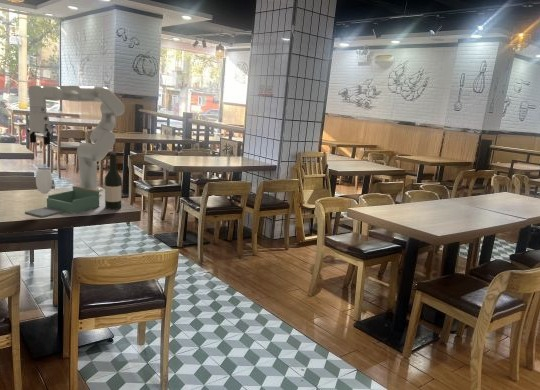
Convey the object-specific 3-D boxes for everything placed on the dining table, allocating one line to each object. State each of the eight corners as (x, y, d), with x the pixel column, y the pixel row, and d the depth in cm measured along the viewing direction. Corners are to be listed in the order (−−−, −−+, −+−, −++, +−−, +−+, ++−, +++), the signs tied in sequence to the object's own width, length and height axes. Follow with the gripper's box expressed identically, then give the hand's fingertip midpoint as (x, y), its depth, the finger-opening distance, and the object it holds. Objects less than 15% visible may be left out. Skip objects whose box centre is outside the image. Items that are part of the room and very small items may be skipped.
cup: (38, 213, 214) (36, 172, 209) (36, 210, 219) (34, 169, 215) (54, 212, 218) (53, 171, 213) (52, 209, 224) (50, 169, 219)
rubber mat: (45, 208, 226) (45, 207, 226) (62, 212, 222) (62, 210, 222) (24, 213, 216) (24, 211, 215) (42, 217, 211) (42, 215, 211)
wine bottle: (119, 209, 234) (119, 154, 228) (103, 209, 233) (103, 153, 227) (122, 206, 242) (122, 152, 236) (106, 205, 241) (106, 151, 235)
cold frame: (74, 201, 245) (74, 186, 243) (99, 206, 238) (99, 190, 236) (46, 207, 228) (46, 191, 226) (72, 213, 221) (72, 196, 219)
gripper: (56, 111, 225) (58, 144, 229) (31, 108, 231) (33, 141, 235) (44, 111, 218) (46, 145, 222) (19, 109, 224) (21, 142, 228)
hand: (40, 143), depth 229 cm, fingers open, 9 cm apart
